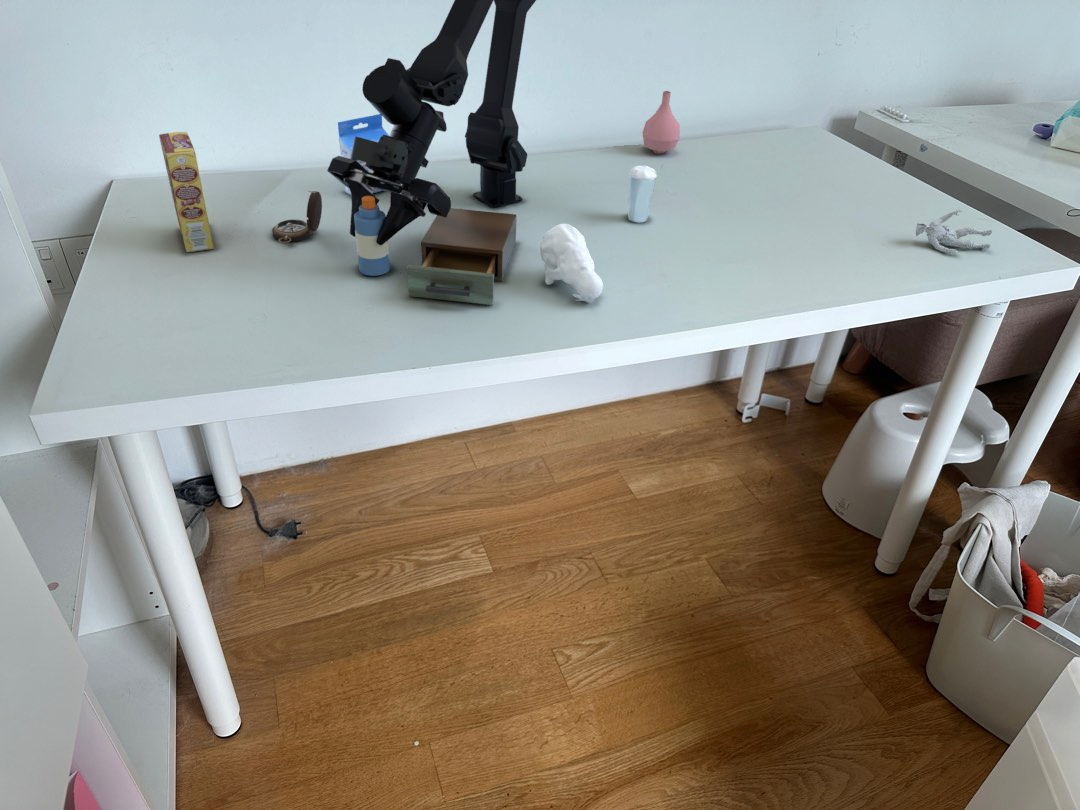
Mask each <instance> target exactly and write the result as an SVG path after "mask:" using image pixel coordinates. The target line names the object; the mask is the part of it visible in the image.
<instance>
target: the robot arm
mask: <svg viewBox="0 0 1080 810" xmlns="http://www.w3.org/2000/svg"><path fill="white" fill-rule="evenodd" d="M536 1H537V0H454V1H453V3H452V5H451V7H450V9H449V11H448V14H447V16H446V17H445V20H444V21H443V24H442V26H441V28H440V30H439V33H438V35H437V36H436V38H435V39H434V40H433V41H432V42H430V43H429V44H427V45H426V46H424V47H422V49H421V50H420V52H419V53H418V55H417V56H416V57H415V59H414V61H413V62H412V64H411V66H410V67H409V68H407V69H406V66H405V65H404V64H403V63H402V61H401V59H400V60H399V59H396V58H390V57H387V59H386V61H385V63H384V64H382V65H379V66H377V67H376V68H374V69H373V70H371V72H370V73H369V74H367V75H366V76H365V77H364V79H363V83H362V94H363V96H364V98H365V99H366V101H368V102H369V104H371V105H372V107H373V109H375V110H376V111H377V112H378V114H381V115H382V118H384V119H385V121H386V122H388V123H389V124H390V125H393V127H392V129H391V131H390V133H389V134H388V135H389V136H387V135H383V136H381V137H380V139H379V142H375V141H371V140H367V139H364V138H360V137H356V136H354V142H353V147H352V152H351V157H350V159H348V158H345V157H341V155H337V156H334V157H332V159H331V161H330V163H329V164H328V167H327V169H326V171H327V172H328V173H329V174H330V175H331V176H333V177H334V178H335V179H336V180H338V181H339V182H340V183H341V184H342V185H343V186H344V187H345V186H346V187H348V188H349V189H350V192H351V195H350V196H351V210H350V211H351V212H350V226H349V234H350V235H351V236H352V237H354V238H356V235H355V221H354V214H355V213H356V212H358V211H359V206H360V205H362V197H364V196H373V197H374V198H375V204H377V205H378V204H379V202H380V199H378V197H376V196H375V195H374V193H373V192H374V188H377V189H380V190H383V191H382V192H387V193H390V197H389V198H390V205H389V208H388V210H387V213H386V214H385V215H386V217H385V220H384V222H383V224H382V226H381V229H380V231H379V234H378V237H377V240H376V243H377V244H379V245H383V244H384V243H385V242H386V241H388V242H389V240H390V239H392V238H393V237H394V236H395V235H396V234H397V233H399V232H400V231H402V230H403V228H405V227H407V226H408V225H410V223H412V222H413V221H415V220H416V219H418V218H419V217H422V218H424V217H426V215H427V213H426V212H425V209H426V208H427V210H428V212H429V213H430V214H432V215H434V216H435V215H436V216H437V215H438V216H441V217H445V218H446V217H447V215H448V213H449V210H450V208H452V201H451V197H450V196H449V195H448V194H447V193H446V192H445V191H444V190H443V189H442V188H441V186H439V185H438V183H436V182H433V181H429V180H426V179H422V178H419V177H417V176H418V173H419V172H420V169H421V167H422V168H427V167H428V164H429V160H428V159H427V158H426V155H427V153H428V151H429V149H430V146H431V145H432V141H433V139H434V138H435V135H436V133H437V131H440V132H444V133H445V132H447V130H448V128H447V127H448V126H447V122H446V120H445V118H444V117H445V116H444V112H443V111H440V110H437V109H435V108H434V107H433V106H432V104H435V105H440V106H444V107H451V106H456V105H457V103H458V102H459V101H460V99H461V97H462V96H463V94H464V90H465V86H466V83H467V81H468V78H469V70H468V63H467V61H468V57H469V54H470V51H471V50H472V48H473V45H474V43H475V41H476V39H477V36H478V34H479V33H480V30H481V28H482V26H483V24H484V23H485V22H484V21H485V20H486V17H487V15H488V14H489V10H490V8H491V6H492V5H493V3H494V4H495V6H494V7H495V11H494V18H493V26H492V31H491V38H490V47H489V54H488V62H487V68H486V75H485V82H484V89H483V97H482V102H481V104H480V105H479V106H478V108H477V109H476V110H475V112H472V111H471V112H469V114H468V116H467V127H466V132H465V135H464V138H465V146H466V149H467V154H468V157H469V162H470V164H473V165H474V164H476V165H478V166H479V168H480V169H479V171H480V172H479V173H480V174H479V175H480V177H479V178H480V179H479V180H480V181H479V183H480V185H479V186H480V187H479V189H480V191H476V192H473V193H472V196H473V197H474V198H476V200H478V201H481V202H482V203H484V204H485V205H486V206H488V207H490V208H493V209H495V208H499V207H503V206H507V205H511V204H515V203H518V202H522V201H523V197H522V196H520V195H518V194H517V178H516V177H517V174H516V173H517V172H518V173H521V172H523V171H524V168H525V167H526V164H527V159H528V152H527V151H526V150H525V148H524V147H523V145H522V144H521V142H520V141H519V127H520V126H519V124H518V122H517V118H516V115H515V112H514V109H513V104H514V98H515V91H516V84H517V78H518V71H519V65H520V60H521V52H522V46H523V44H522V43H523V38H524V32H525V27H526V20H527V14H528V12H529V11H530V9H531V8H532V7H533V5H534V4H535V3H536ZM430 103H432V104H430ZM357 160H360V161H363V162H366V164H365V165H366V166H367V167H368V168H369V169H372V170H373V173H370V172H368V171H367V170H366V169H365V168H364V167H363V166H362V165H360V164H359V163H358V162H357ZM381 182H383V183H385V184H382V183H381Z"/></svg>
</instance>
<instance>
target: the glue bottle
mask: <svg viewBox="0 0 1080 810" xmlns="http://www.w3.org/2000/svg"><path fill="white" fill-rule="evenodd" d="M386 215H387V214H386V213H385V212H384V211H383V210H380V205H378V204H375V198H374V197H373V196H364V197H362V205H360V206H359V211H358V212H356V213H355V214H354V221H355V235H356V237H355V241H356V242H355V243H356V252H357V258H358V269H359V272H360V273H361V274H363V275H366V276H371V277H378V276H382V275H385V274H386V273H388V272H389V271H390V269H391V268H390V255H389V251H390V250H389V240H388V241H386V242H385V243H384V244H383V245H379V244H377V243H376V240H377V237H378V234H379V231H380V229H381V226H382V224H383V222H384V220H385V217H386Z"/></svg>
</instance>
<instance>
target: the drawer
mask: <svg viewBox="0 0 1080 810" xmlns="http://www.w3.org/2000/svg"><path fill="white" fill-rule="evenodd" d="M497 267H498V254H490V253H481V252H471V251H461V250H451V249H442V248H432V249H431V251H430V253H429V254H428V256H427V258H426V260H425V262H424V263H423V265H422V264H421V265H413V264H408V265H407V267H406V276H407V290H408V291H407V292H408V297H414V298H424V299H433V300H434V299H435V300H441V301H442V300H444V301H452V302H461V303H471V304H480V305H489V306H493V304H494V301H495V281H494V275H495V272H496V270H497Z"/></svg>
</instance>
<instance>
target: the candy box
mask: <svg viewBox="0 0 1080 810" xmlns="http://www.w3.org/2000/svg"><path fill="white" fill-rule="evenodd" d="M158 137H159V142H160V146H161V151H162V155H163V160H164V165H165V170H166V173H167V178H168V182H169V183H168V184H169V187H170V191H171V196H172V201H173V205H174V209H175V215H176V218H177V222H178V226H179V231H180V234H181V237H182V241H183V245H184V249H185V252H187V253H193V252H201V251H208V250H214V243H213V237H212V233H211V232H212V231H211V227H210V222H209V217H208V211H207V207H206V201H205V200H206V199H205V196H204V190H203V186H202V185H203V184H202V181H201V180H202V179H201V176H200V170H199V164H198V161H197V154H196V150H195V148H194V145H193V143H192V140H191V138H190V136H189V132H187V131H174V132H167V133H160V134H158Z"/></svg>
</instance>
